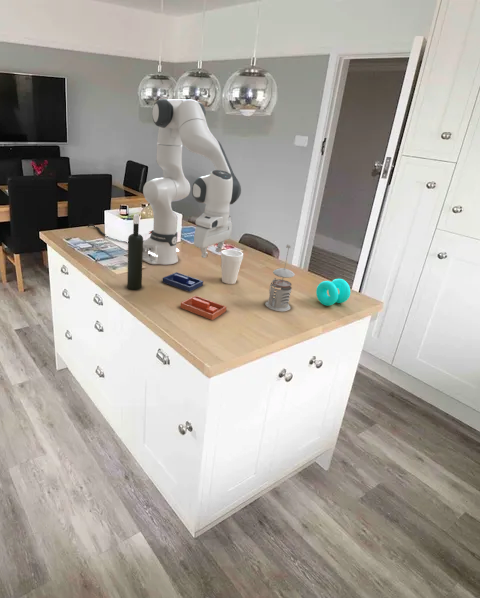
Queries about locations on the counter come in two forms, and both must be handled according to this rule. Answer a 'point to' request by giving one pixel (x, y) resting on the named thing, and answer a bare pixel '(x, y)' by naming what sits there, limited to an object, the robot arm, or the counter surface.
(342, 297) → the donuts
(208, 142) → the robot arm
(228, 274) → the foam cup
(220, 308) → the terracotta tray
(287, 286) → the french press
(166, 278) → the navy tray
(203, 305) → the orange red stepped block
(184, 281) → the blue stepped block
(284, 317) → the counter surface
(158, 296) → the counter surface
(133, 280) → the wine bottle
